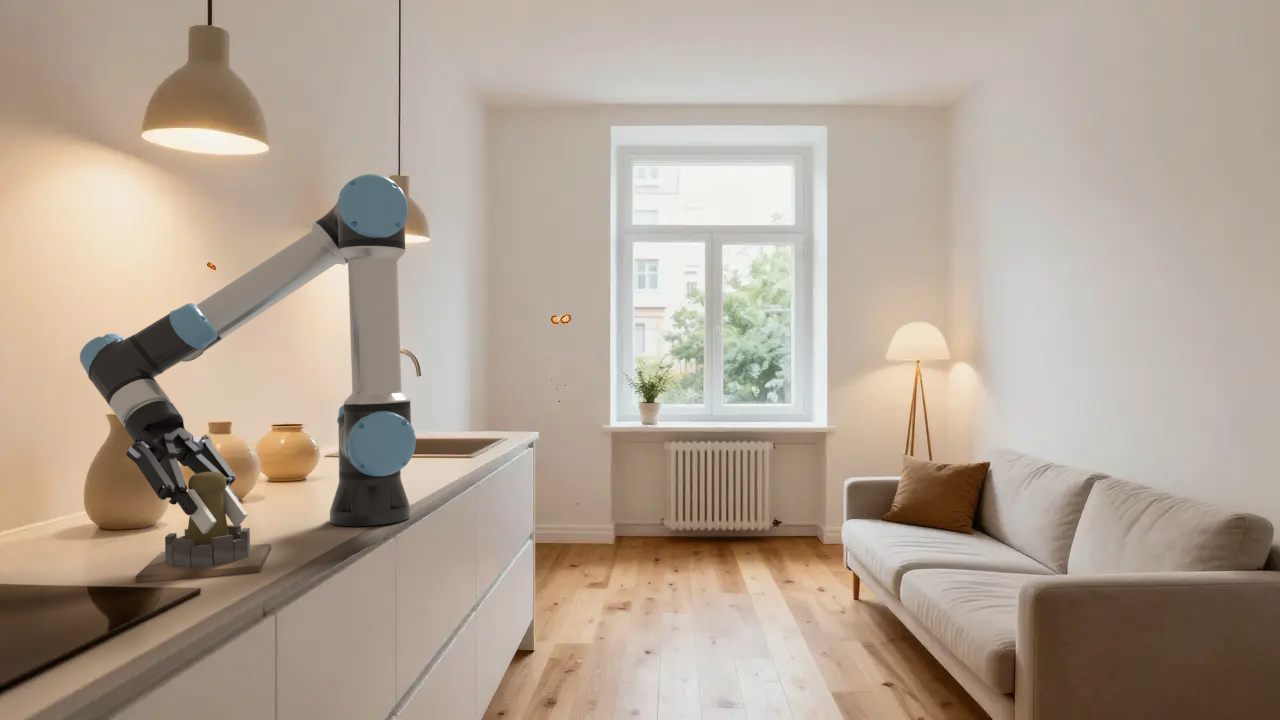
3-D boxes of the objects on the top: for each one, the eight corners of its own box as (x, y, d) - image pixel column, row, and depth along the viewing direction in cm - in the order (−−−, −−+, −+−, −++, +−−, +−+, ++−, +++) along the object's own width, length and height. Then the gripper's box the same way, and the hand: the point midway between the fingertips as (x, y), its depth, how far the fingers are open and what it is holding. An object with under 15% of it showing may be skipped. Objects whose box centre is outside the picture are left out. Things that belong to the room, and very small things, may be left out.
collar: (270, 549, 136) (270, 519, 136) (259, 572, 121) (259, 538, 121) (161, 558, 131) (161, 526, 131) (135, 582, 116) (135, 547, 116)
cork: (210, 548, 122) (210, 475, 122) (175, 547, 123) (175, 474, 124) (238, 540, 128) (238, 470, 128) (204, 539, 129) (204, 469, 129)
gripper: (186, 426, 140) (260, 529, 134) (80, 435, 123) (159, 553, 117) (208, 396, 138) (285, 498, 132) (104, 400, 121) (186, 518, 115)
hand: (225, 523), depth 124 cm, fingers closed on cork, 5 cm apart
